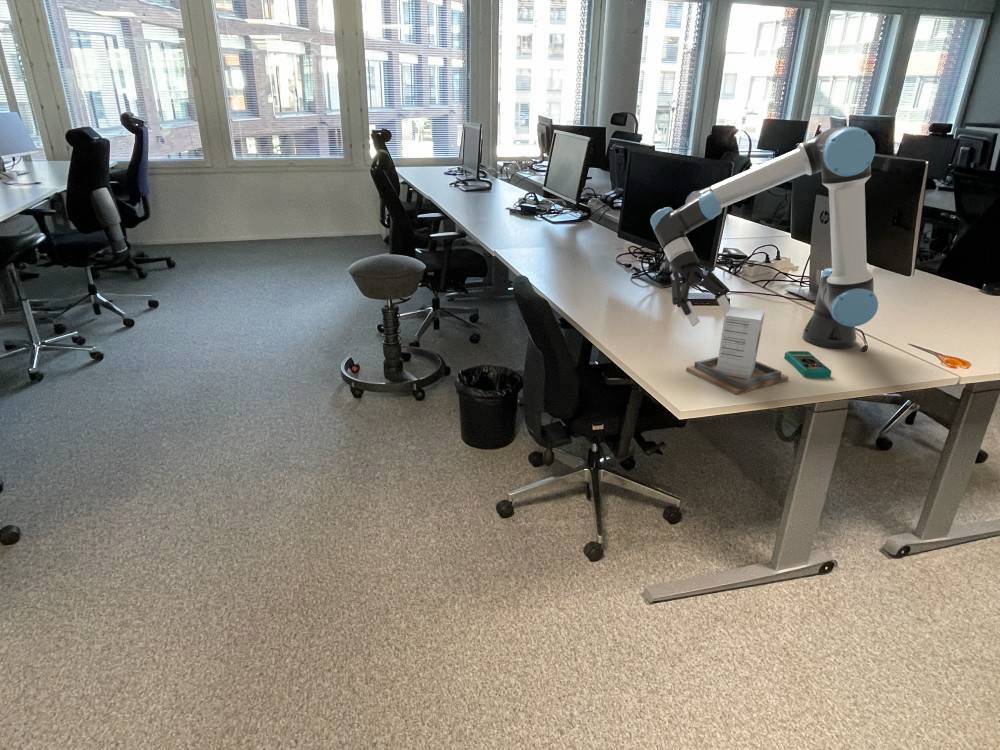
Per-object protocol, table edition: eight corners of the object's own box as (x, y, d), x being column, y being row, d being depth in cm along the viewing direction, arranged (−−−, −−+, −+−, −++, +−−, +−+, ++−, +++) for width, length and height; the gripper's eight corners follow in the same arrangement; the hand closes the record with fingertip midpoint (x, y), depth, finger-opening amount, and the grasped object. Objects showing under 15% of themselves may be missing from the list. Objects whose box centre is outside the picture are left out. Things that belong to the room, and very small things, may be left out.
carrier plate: (736, 358, 186) (737, 350, 185) (788, 380, 172) (789, 371, 171) (685, 370, 177) (686, 362, 176) (736, 394, 163) (737, 385, 162)
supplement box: (750, 380, 169) (761, 320, 162) (715, 373, 173) (724, 315, 166) (755, 368, 177) (765, 310, 170) (720, 362, 181) (729, 305, 174)
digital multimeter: (804, 379, 174) (806, 369, 173) (782, 359, 187) (784, 349, 186) (831, 379, 174) (833, 370, 172) (807, 359, 187) (809, 350, 186)
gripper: (704, 259, 193) (735, 319, 187) (641, 268, 182) (672, 333, 176) (720, 245, 187) (753, 307, 181) (656, 254, 176) (689, 320, 170)
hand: (713, 320), depth 179 cm, fingers open, 13 cm apart
